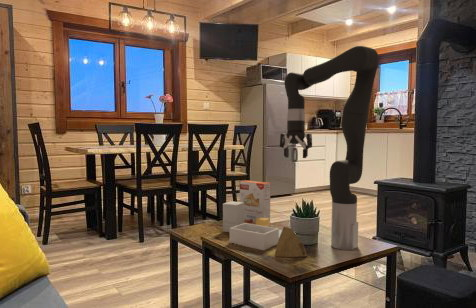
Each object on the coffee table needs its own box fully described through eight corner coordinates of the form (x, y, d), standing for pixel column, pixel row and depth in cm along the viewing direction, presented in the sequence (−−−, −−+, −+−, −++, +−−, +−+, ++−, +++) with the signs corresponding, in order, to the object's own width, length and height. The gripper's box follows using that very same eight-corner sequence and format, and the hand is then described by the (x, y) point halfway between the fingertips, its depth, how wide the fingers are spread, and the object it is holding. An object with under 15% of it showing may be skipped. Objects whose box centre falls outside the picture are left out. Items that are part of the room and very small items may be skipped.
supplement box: (244, 230, 169) (245, 202, 168) (236, 233, 162) (236, 204, 162) (230, 228, 172) (231, 200, 172) (222, 231, 166) (222, 203, 165)
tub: (278, 243, 148) (278, 228, 148) (264, 250, 139) (264, 234, 139) (245, 237, 157) (245, 222, 157) (229, 243, 148) (229, 228, 148)
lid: (299, 237, 157) (299, 220, 157) (285, 243, 148) (286, 226, 148) (259, 230, 169) (259, 214, 168) (244, 235, 159) (245, 219, 159)
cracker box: (238, 224, 179) (239, 181, 178) (246, 222, 184) (246, 179, 183) (263, 229, 171) (263, 183, 170) (270, 226, 176) (270, 182, 175)
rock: (313, 247, 135) (289, 239, 141) (309, 232, 130) (284, 224, 136) (299, 271, 129) (274, 261, 135) (294, 256, 124) (269, 247, 130)
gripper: (315, 120, 160) (314, 158, 161) (285, 120, 168) (285, 156, 169) (307, 119, 154) (306, 158, 154) (277, 120, 162) (276, 157, 163)
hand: (295, 157), depth 162 cm, fingers open, 8 cm apart
